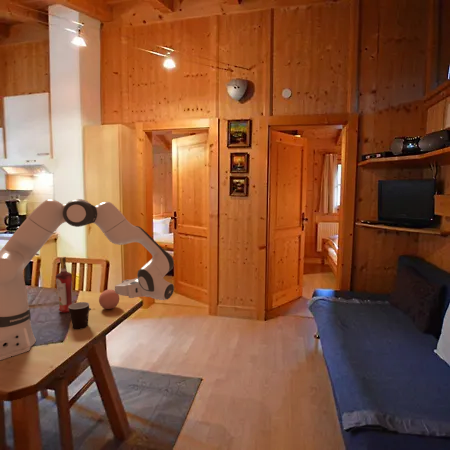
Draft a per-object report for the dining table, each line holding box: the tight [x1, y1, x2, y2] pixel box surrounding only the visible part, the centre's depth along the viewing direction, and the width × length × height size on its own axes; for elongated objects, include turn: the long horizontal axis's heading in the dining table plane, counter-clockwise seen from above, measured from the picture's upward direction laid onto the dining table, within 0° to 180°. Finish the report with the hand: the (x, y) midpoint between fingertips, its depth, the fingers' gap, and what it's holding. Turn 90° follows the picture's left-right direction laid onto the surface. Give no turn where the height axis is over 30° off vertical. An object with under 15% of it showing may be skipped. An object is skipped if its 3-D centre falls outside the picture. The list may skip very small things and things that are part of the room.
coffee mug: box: [68, 301, 90, 331], centre depth 151 cm, size 12×9×10 cm
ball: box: [98, 288, 120, 310], centre depth 171 cm, size 10×10×10 cm
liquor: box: [55, 256, 73, 314], centre depth 167 cm, size 7×7×28 cm
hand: (124, 281), depth 162 cm, fingers closed
